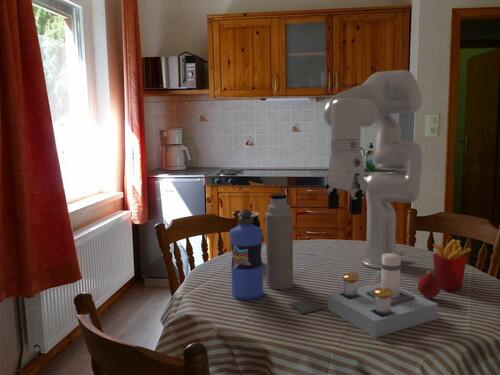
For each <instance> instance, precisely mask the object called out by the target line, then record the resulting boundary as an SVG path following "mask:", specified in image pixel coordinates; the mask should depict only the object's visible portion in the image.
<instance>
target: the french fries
mask: <svg viewBox="0 0 500 375" xmlns="http://www.w3.org/2000/svg"><path fill="white" fill-rule="evenodd" d="M461 242H462V241H461V240H459V239H457V240H456V239H454V238H453V239H452V240H450V241H449V242H448V243H447V244H446V246H445V247H444V244H442V243H439V245H438V244H437V243H436V242H434V243H432V246H433V247H434V249H435V250H436V252H437V253H433V254H432V257H433V258H432V260H433V267H434V268H433V269H434V270H433V271H434V272H433V273H434V276H435V277H436V278H437V279H438V280H439V283H440V288H441V289H440V290H443V291H445V292H447V293H450V292H455V291H456V292H457V291H461V290H462V286H463V281H464V276H465V275H464V274H465V269H466V264H467V259H468V258H467V257H466V256H464V254H467V253H468V252H471V251H472V249H471V248H470V247H466V248H465V249H463V247H462V246H461ZM462 249H463V250H462Z"/></svg>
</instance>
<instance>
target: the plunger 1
mask: <svg viewBox="0 0 500 375" xmlns="http://www.w3.org/2000/svg"><path fill="white" fill-rule="evenodd" d="M342 280H343V291H344V297H345V298H347V299H349V300H350V299H354V298H358V288H359V287H358V286H359V284H358V282H359V280H360V276H359V274H356V273H352V272H347V273H343V274H342Z"/></svg>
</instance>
